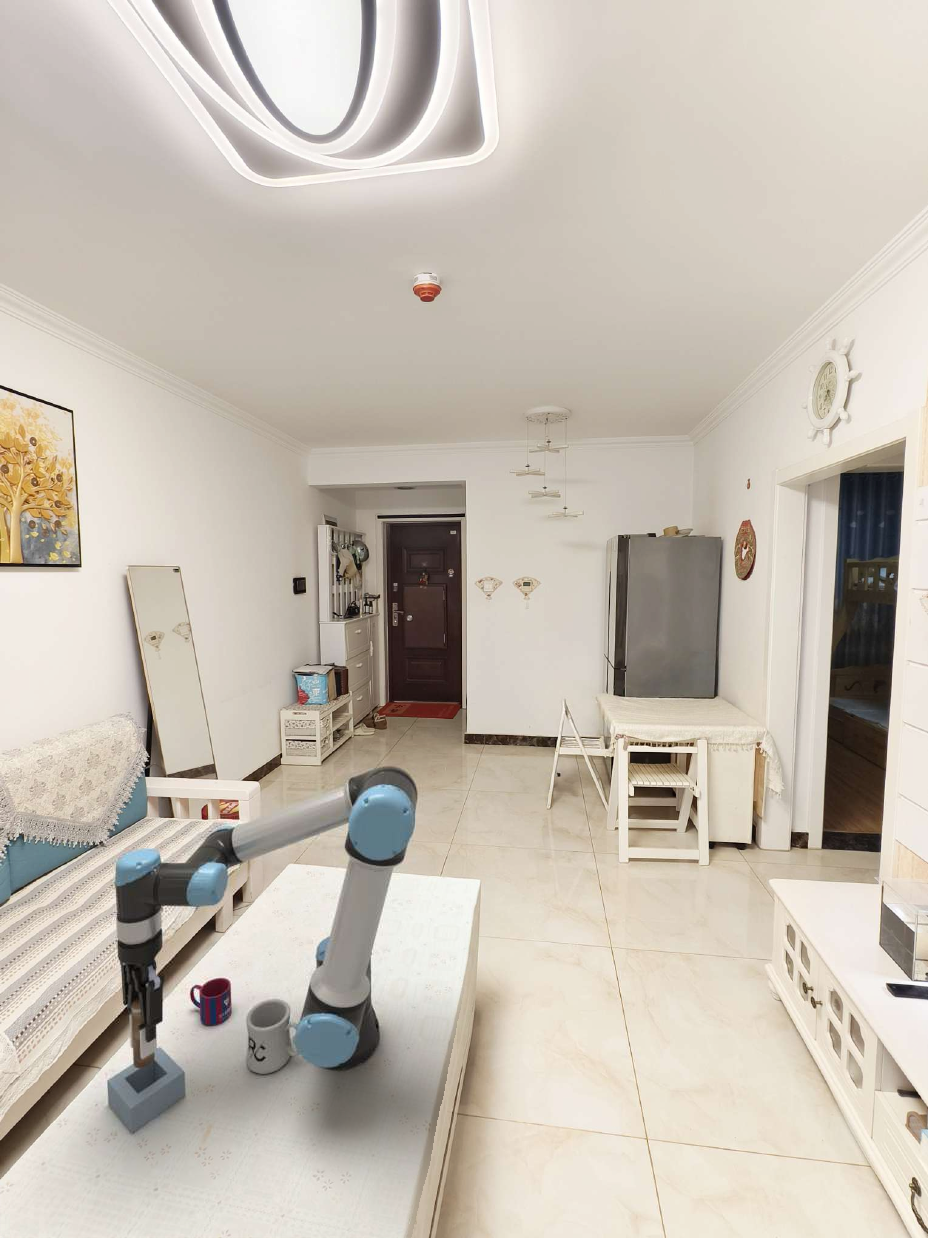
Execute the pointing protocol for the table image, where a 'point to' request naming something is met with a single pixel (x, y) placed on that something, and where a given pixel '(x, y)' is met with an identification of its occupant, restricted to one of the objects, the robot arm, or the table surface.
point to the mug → (269, 1036)
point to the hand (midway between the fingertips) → (143, 1048)
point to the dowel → (138, 1037)
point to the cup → (213, 1001)
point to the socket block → (146, 1090)
